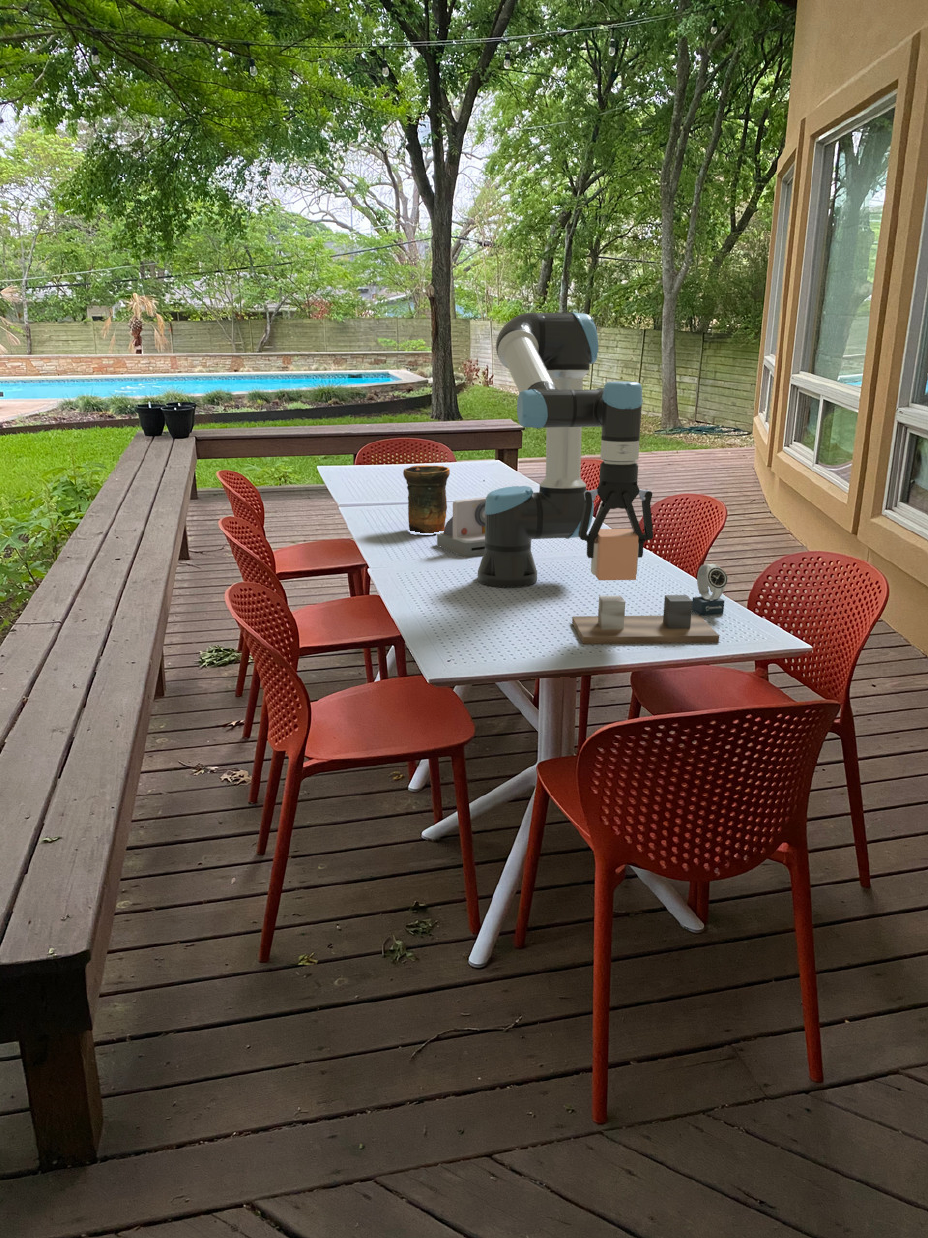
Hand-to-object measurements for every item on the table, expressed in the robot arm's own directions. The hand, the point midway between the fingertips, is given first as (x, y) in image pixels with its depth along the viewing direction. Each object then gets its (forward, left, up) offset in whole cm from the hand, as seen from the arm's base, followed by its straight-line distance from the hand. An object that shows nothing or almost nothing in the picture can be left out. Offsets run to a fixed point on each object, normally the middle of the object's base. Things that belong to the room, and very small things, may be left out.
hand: (613, 572), depth 191 cm
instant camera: (-80, -23, -14) cm, 85 cm away
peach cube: (0, 0, -1) cm, 1 cm away
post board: (0, +7, -13) cm, 15 cm away
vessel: (-102, -38, -13) cm, 110 cm away
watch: (-14, +25, -13) cm, 32 cm away
